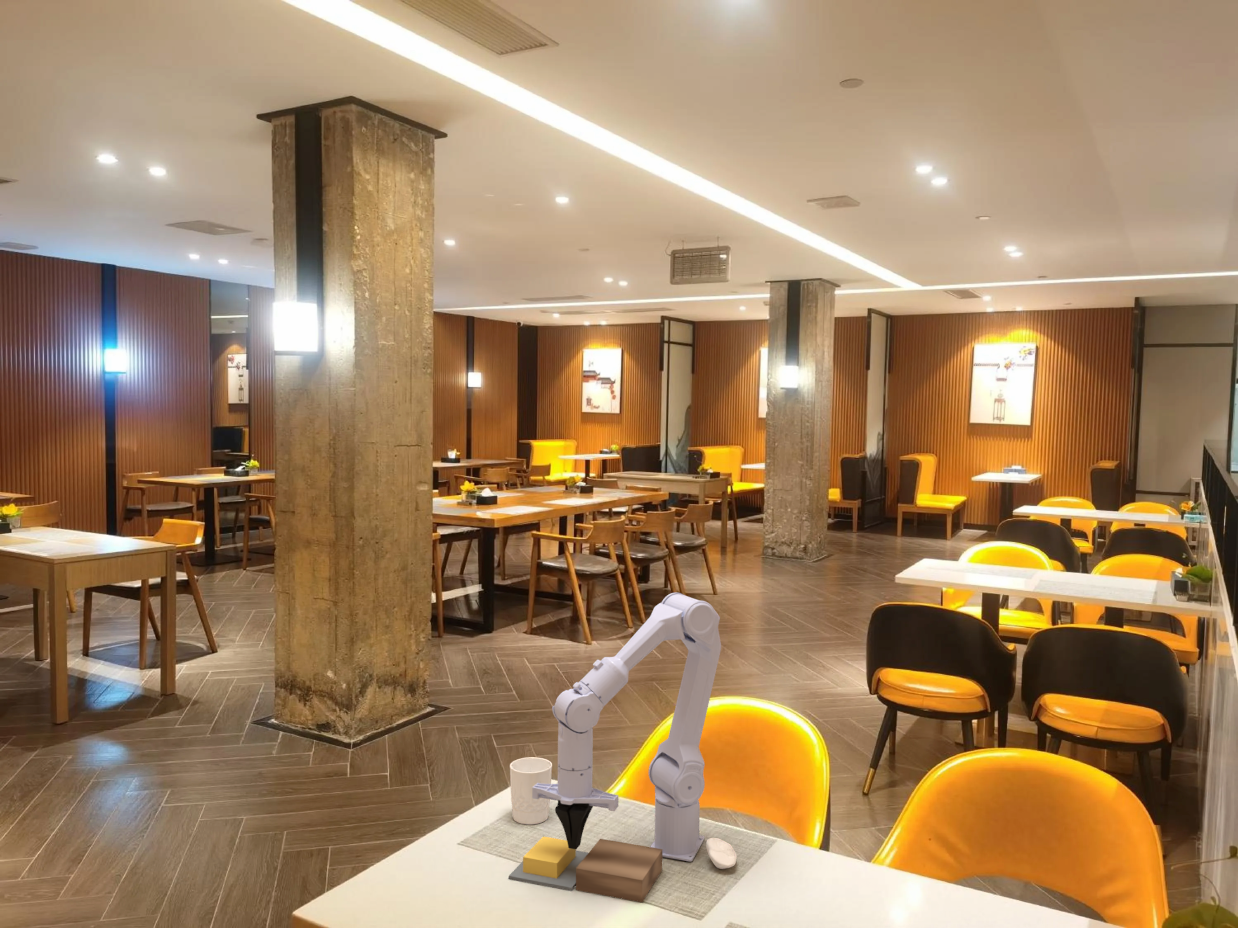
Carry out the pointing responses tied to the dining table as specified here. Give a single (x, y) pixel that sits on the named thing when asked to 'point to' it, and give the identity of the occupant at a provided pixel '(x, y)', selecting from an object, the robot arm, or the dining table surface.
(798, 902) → the dining table surface
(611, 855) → the brown cuboid
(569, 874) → the mat
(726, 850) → the dumpling
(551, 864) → the yellow cuboid
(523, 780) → the white cup
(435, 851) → the dining table surface
